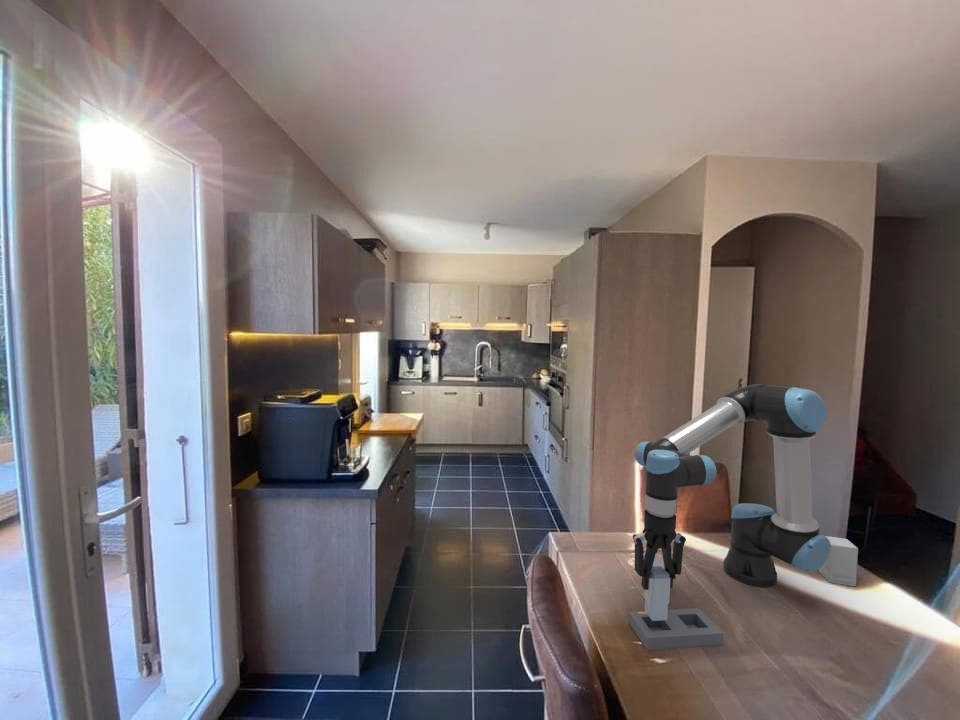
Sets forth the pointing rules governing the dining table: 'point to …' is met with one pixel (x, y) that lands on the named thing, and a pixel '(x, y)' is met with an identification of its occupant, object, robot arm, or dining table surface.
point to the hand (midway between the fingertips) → (656, 599)
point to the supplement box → (841, 562)
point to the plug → (658, 595)
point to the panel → (676, 629)
